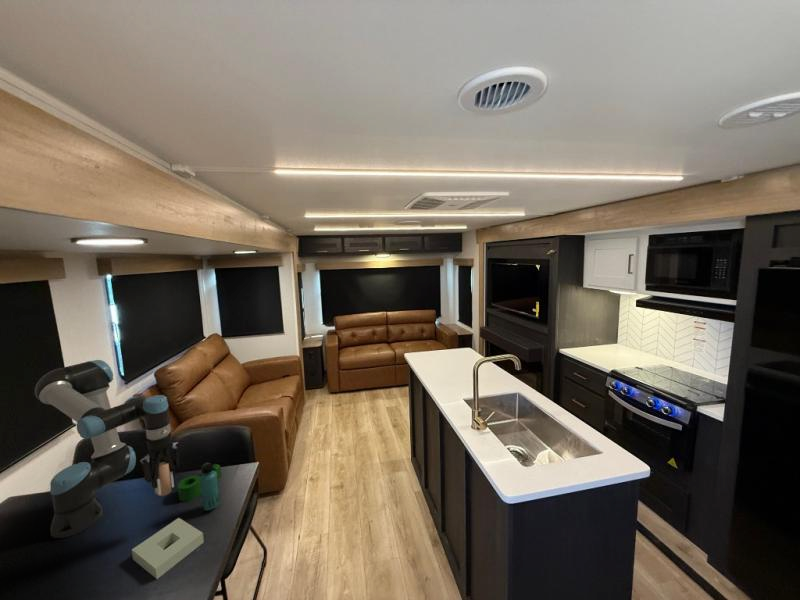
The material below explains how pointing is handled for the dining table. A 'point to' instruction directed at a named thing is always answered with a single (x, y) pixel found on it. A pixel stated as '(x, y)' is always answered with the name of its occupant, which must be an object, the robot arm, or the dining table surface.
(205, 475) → the beverage bottle
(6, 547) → the dining table surface
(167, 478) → the peg
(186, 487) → the slotted cylinder bracket
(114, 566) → the dining table surface
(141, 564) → the socket board
